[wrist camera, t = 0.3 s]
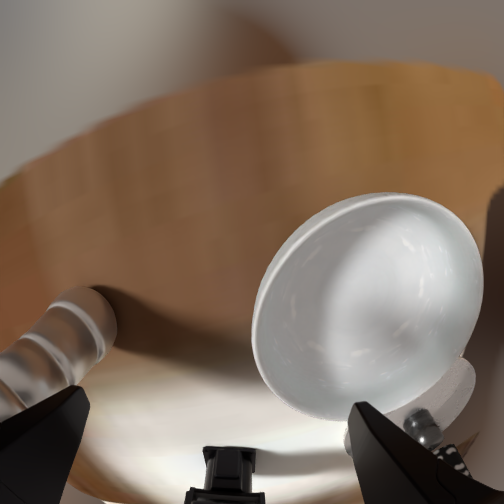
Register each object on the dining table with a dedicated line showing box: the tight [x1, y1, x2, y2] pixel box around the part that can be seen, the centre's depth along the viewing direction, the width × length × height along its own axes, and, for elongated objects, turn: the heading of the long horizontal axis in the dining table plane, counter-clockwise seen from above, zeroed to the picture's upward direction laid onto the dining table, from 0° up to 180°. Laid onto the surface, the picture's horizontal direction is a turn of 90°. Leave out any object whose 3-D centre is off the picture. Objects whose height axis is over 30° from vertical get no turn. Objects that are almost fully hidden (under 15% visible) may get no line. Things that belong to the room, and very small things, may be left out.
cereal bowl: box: [251, 192, 483, 421], centre depth 18 cm, size 17×17×7 cm
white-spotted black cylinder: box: [434, 444, 473, 479], centre depth 22 cm, size 8×8×20 cm
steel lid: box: [344, 357, 476, 458], centre depth 24 cm, size 20×20×6 cm
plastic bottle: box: [0, 286, 117, 423], centre depth 13 cm, size 6×7×20 cm
